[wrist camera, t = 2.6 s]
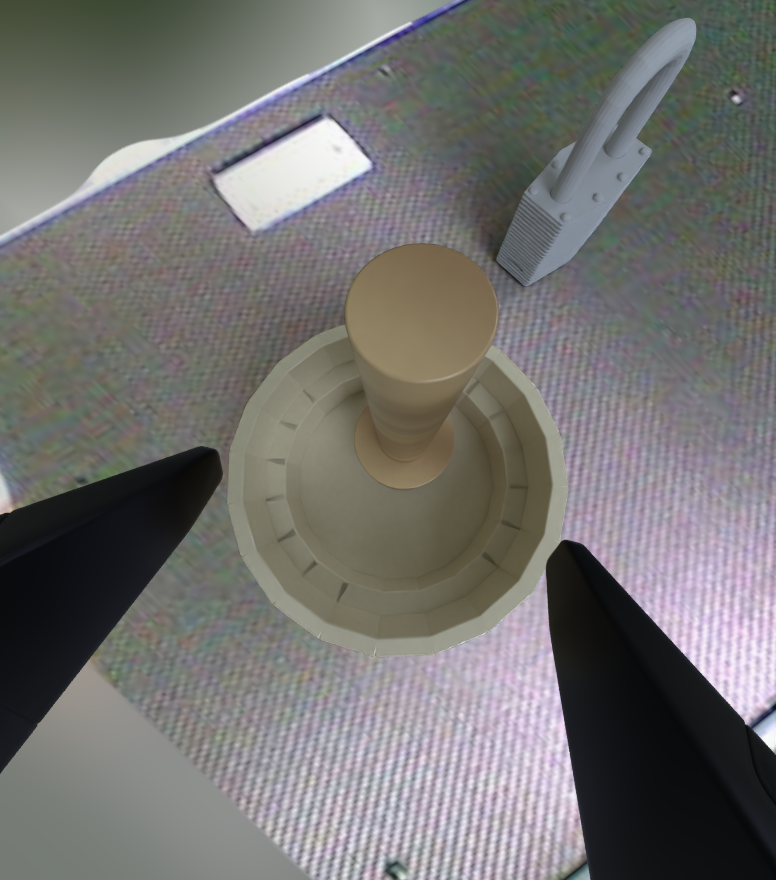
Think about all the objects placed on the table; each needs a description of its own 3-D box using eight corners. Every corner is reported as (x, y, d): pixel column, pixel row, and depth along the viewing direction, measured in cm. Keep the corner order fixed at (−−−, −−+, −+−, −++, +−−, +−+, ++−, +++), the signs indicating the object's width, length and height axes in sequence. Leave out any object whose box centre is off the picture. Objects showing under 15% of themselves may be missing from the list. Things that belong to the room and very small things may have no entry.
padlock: (559, 197, 22) (691, -46, 12) (602, 233, 21) (779, 7, 12) (487, 256, 21) (567, 48, 11) (530, 295, 21) (653, 110, 11)
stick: (416, 507, 18) (479, 533, 4) (342, 458, 18) (203, 353, 5) (463, 432, 18) (635, 264, 5) (390, 388, 19) (377, 137, 6)
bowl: (434, 663, 17) (453, 743, 11) (227, 512, 18) (157, 518, 13) (559, 442, 19) (626, 419, 13) (363, 326, 20) (351, 264, 15)
